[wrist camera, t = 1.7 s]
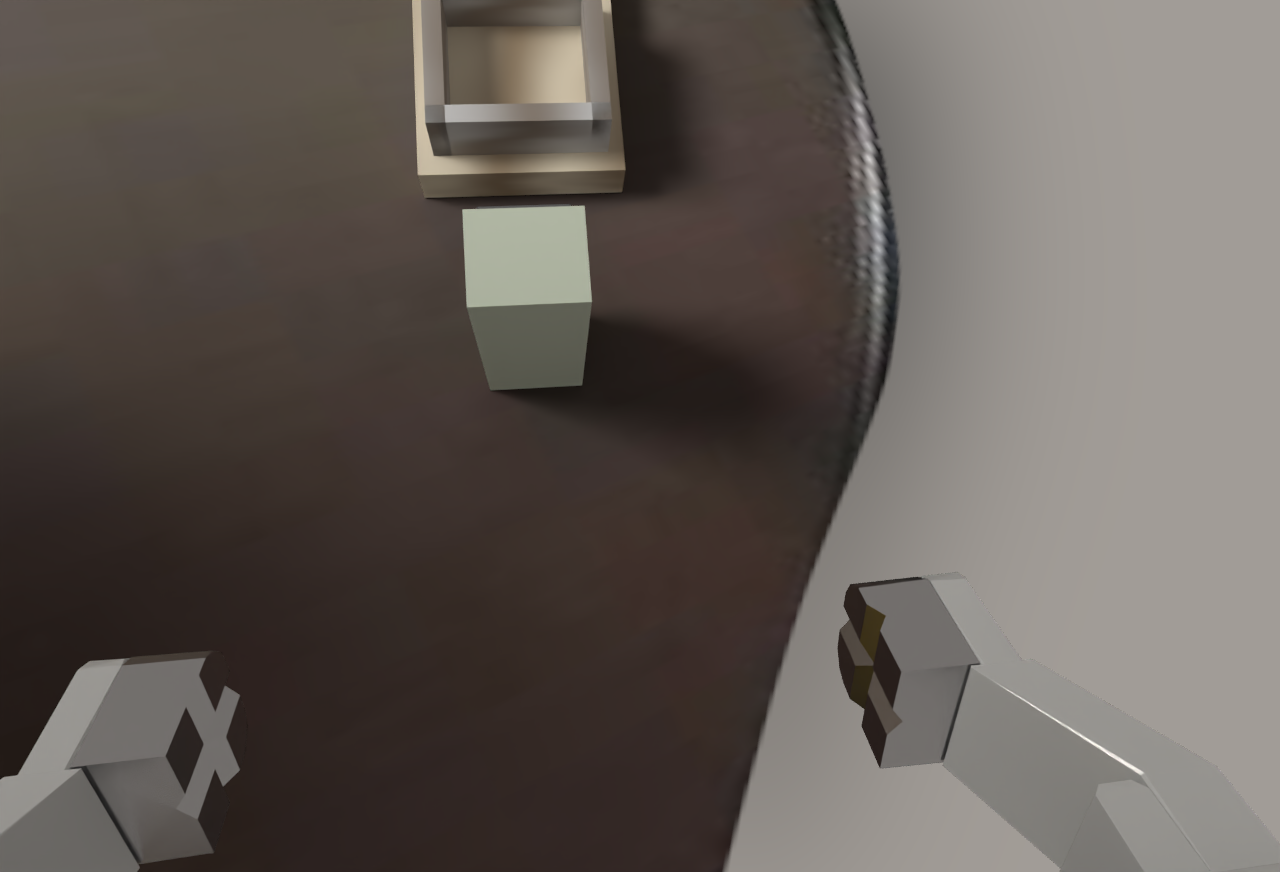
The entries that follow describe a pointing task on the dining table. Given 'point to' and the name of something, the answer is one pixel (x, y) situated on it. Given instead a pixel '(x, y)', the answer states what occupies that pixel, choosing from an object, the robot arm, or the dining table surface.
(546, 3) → the cream peg holder
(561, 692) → the dining table surface
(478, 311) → the block
